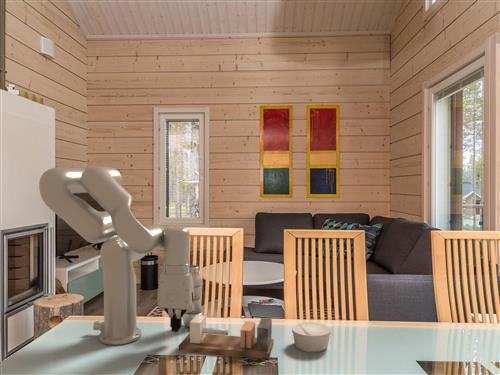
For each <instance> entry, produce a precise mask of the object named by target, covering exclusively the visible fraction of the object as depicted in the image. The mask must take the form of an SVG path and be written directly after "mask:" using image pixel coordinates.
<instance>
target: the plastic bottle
mask: <svg viewBox="0 0 500 375" xmlns="http://www.w3.org/2000/svg"><path fill="white" fill-rule="evenodd" d="M199 268H200V267H199V265H196V264H189V273H191V275H192V280H193V288H194V303H193V307H194V310H193V311H192V312H189V313H185V314H184V315H183V316H182V324H183V325H184V327H186V328H190V322H191V320H192V319H193V318H194V317H195V316H196V315H201V316H204V315H203V311H202V291H203V279H202V277H201V275H200V274H199V271H200V270H199Z"/></svg>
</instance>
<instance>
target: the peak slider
mask: <svg viewBox="0 0 500 375" xmlns="http://www.w3.org/2000/svg"><path fill="white" fill-rule="evenodd" d="M239 336H240V348H244V350H246V348H251V347H252V345H253V343H254V340H255V338H256V321H247V320H245V321H244V322H243V325H242V326H241V328H240V334H239Z"/></svg>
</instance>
